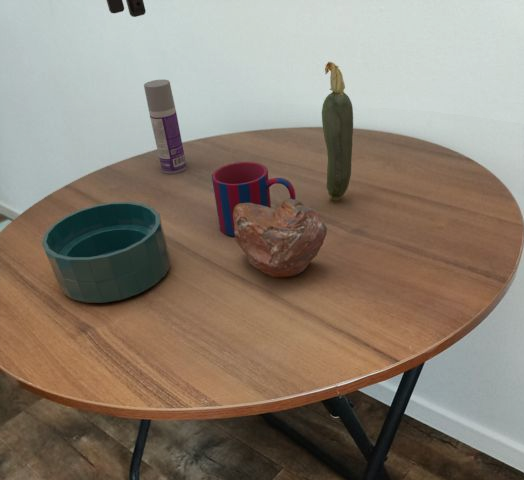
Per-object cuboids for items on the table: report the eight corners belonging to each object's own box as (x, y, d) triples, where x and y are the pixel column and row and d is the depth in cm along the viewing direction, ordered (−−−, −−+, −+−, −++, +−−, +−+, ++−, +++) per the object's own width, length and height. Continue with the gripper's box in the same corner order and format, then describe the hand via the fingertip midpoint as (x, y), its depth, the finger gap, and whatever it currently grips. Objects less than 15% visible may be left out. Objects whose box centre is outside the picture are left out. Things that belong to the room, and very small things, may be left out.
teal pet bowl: (41, 280, 73) (21, 235, 68) (129, 235, 80) (117, 192, 76) (99, 321, 64) (81, 273, 60) (193, 266, 72) (183, 220, 67)
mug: (235, 209, 84) (228, 159, 78) (304, 219, 79) (302, 166, 74) (210, 233, 78) (201, 181, 73) (283, 245, 74) (279, 191, 69)
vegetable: (356, 200, 82) (361, 59, 69) (339, 210, 80) (341, 67, 67) (334, 193, 85) (334, 56, 72) (317, 203, 83) (314, 64, 69)
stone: (330, 264, 69) (330, 193, 63) (308, 300, 64) (305, 227, 57) (245, 251, 74) (236, 183, 67) (217, 283, 68) (205, 213, 62)
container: (185, 162, 101) (169, 77, 91) (187, 171, 97) (170, 84, 87) (161, 166, 100) (143, 81, 90) (162, 175, 97) (143, 88, 87)
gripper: (46, -122, 70) (89, 17, 81) (76, -138, 61) (121, 23, 71) (97, -130, 73) (133, 6, 83) (135, -146, 63) (170, 10, 74)
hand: (127, 14), depth 77 cm, fingers open, 8 cm apart
